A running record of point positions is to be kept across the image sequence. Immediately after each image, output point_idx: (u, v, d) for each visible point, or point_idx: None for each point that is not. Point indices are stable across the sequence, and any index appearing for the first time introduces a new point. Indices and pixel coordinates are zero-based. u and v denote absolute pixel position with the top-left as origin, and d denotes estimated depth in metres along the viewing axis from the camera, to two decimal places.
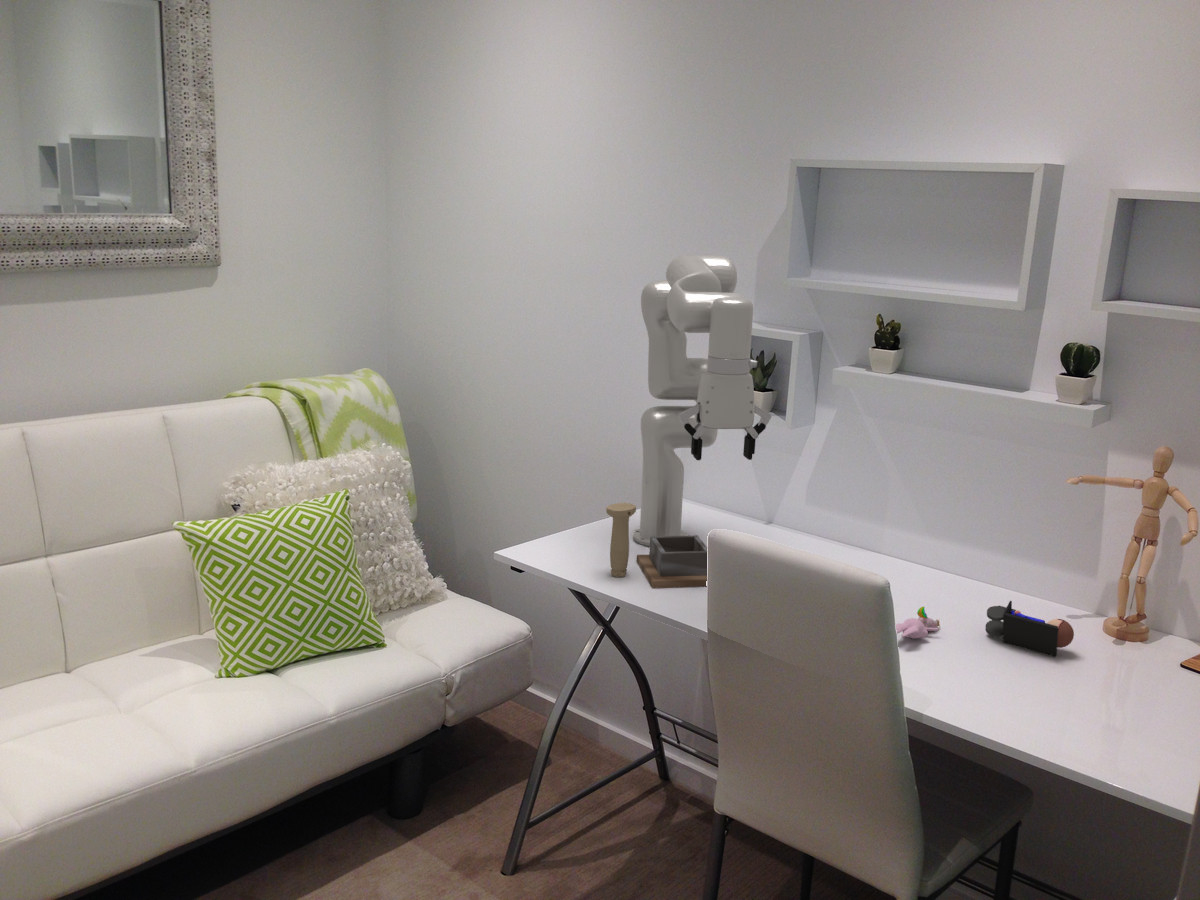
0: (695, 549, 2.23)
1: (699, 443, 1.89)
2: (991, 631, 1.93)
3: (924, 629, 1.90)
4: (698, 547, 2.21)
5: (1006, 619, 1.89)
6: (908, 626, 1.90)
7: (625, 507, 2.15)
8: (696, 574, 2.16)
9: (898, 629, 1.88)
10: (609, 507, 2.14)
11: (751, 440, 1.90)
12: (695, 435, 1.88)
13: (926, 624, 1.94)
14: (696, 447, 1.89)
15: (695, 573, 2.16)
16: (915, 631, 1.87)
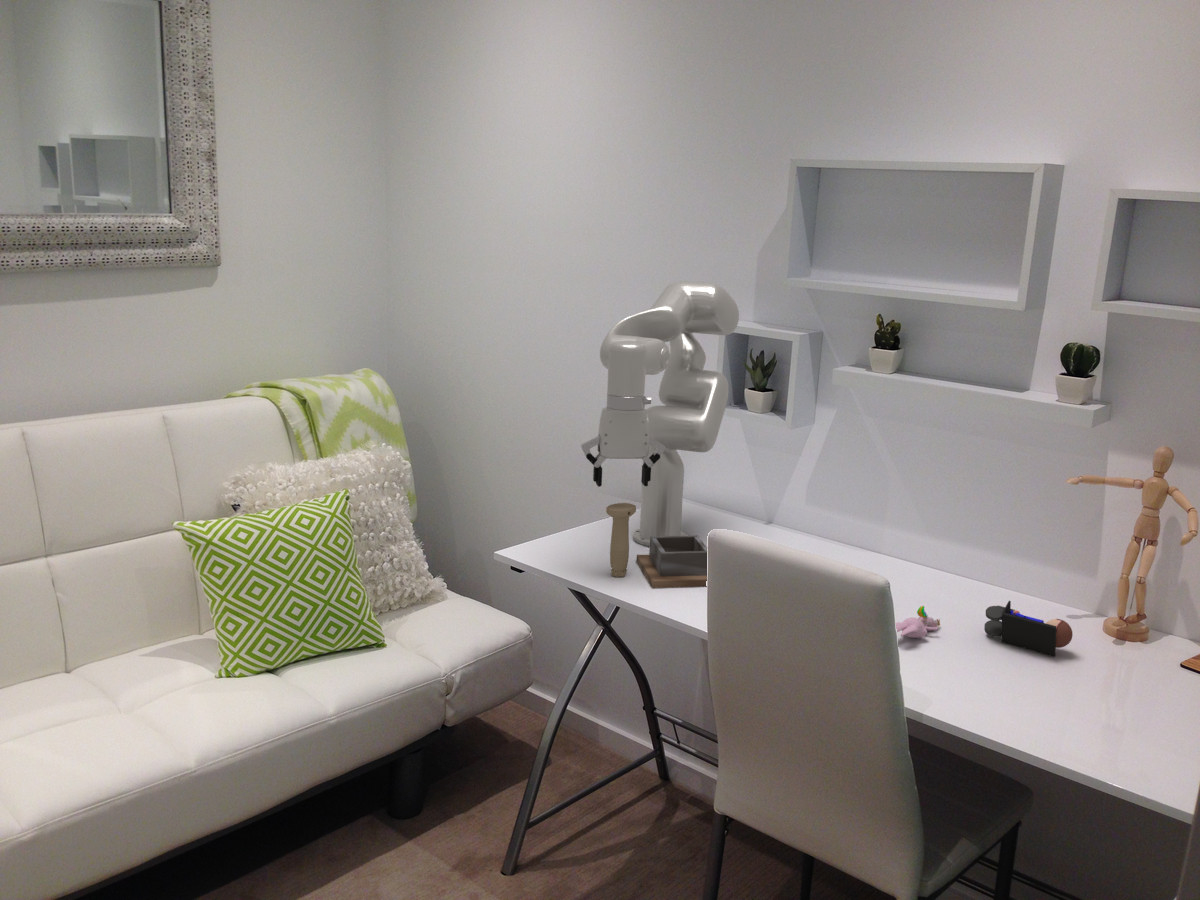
0: (695, 549, 2.23)
1: (599, 471, 2.11)
2: (990, 631, 1.93)
3: (923, 628, 1.90)
4: (698, 547, 2.21)
5: (1005, 619, 1.89)
6: (907, 625, 1.90)
7: (625, 507, 2.15)
8: (696, 574, 2.16)
9: (897, 628, 1.88)
10: (609, 507, 2.14)
11: (647, 469, 2.12)
12: (596, 464, 2.10)
13: (926, 623, 1.94)
14: (597, 475, 2.11)
15: (695, 573, 2.16)
16: (914, 630, 1.88)
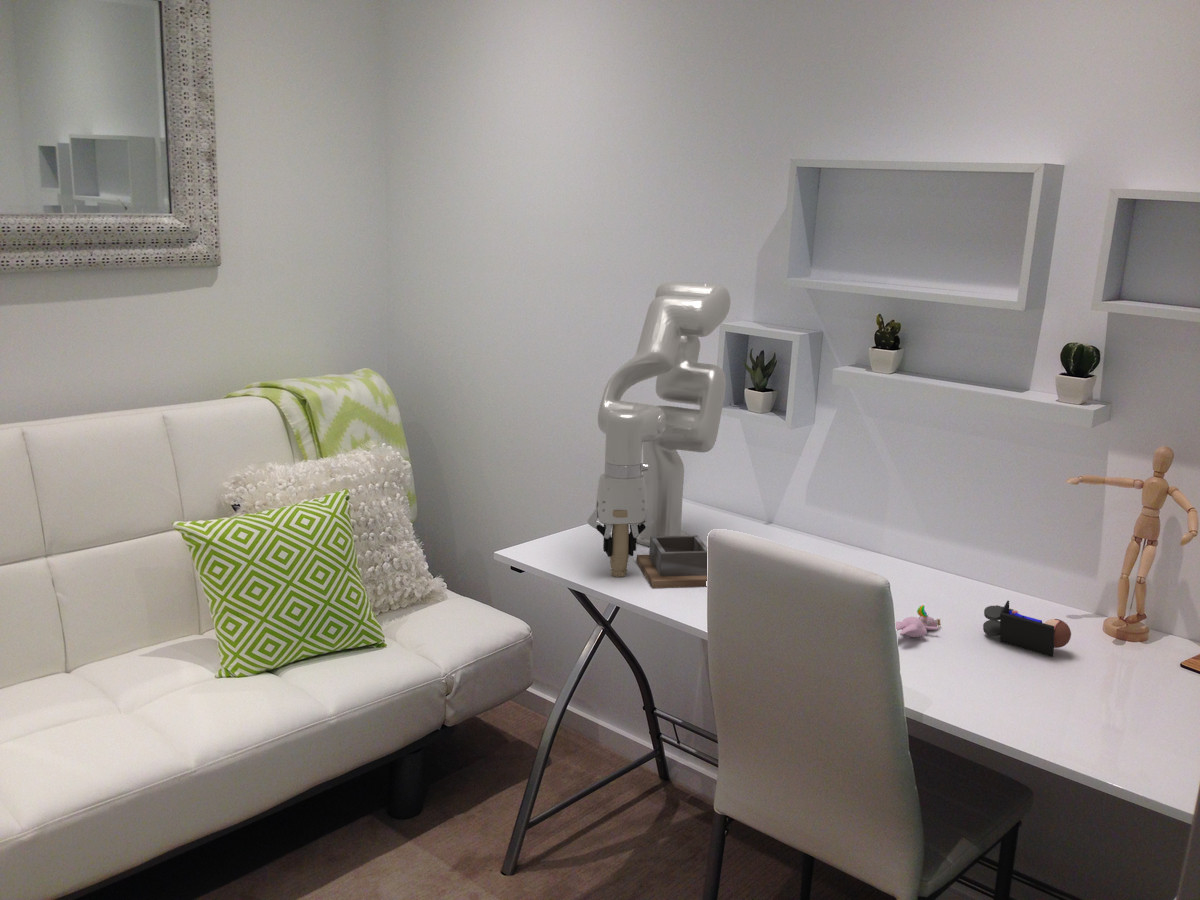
0: (695, 549, 2.23)
1: (609, 542, 2.15)
2: (988, 631, 1.93)
3: (923, 628, 1.91)
4: (698, 547, 2.21)
5: (1003, 619, 1.89)
6: (907, 624, 1.91)
7: None
8: (696, 574, 2.16)
9: (896, 627, 1.89)
10: None
11: (632, 539, 2.16)
12: (606, 535, 2.15)
13: (926, 623, 1.95)
14: (607, 545, 2.16)
15: (695, 573, 2.16)
16: (913, 629, 1.88)
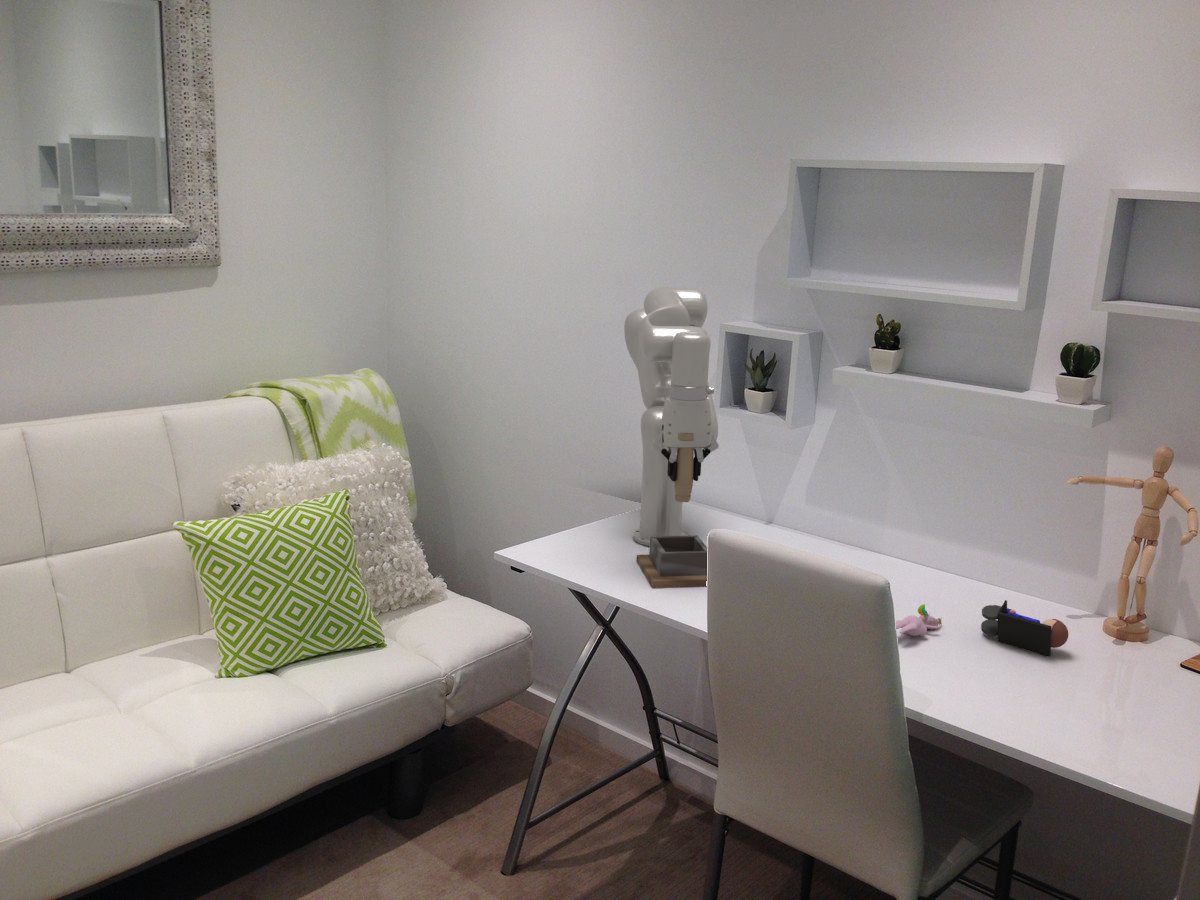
0: (695, 549, 2.23)
1: (674, 466, 2.13)
2: (986, 630, 1.93)
3: (923, 626, 1.91)
4: (698, 547, 2.21)
5: (1000, 618, 1.89)
6: (907, 623, 1.91)
7: None
8: (696, 574, 2.16)
9: (896, 626, 1.89)
10: None
11: (697, 464, 2.14)
12: (671, 459, 2.13)
13: (927, 622, 1.95)
14: (672, 470, 2.14)
15: (695, 573, 2.16)
16: (913, 628, 1.88)
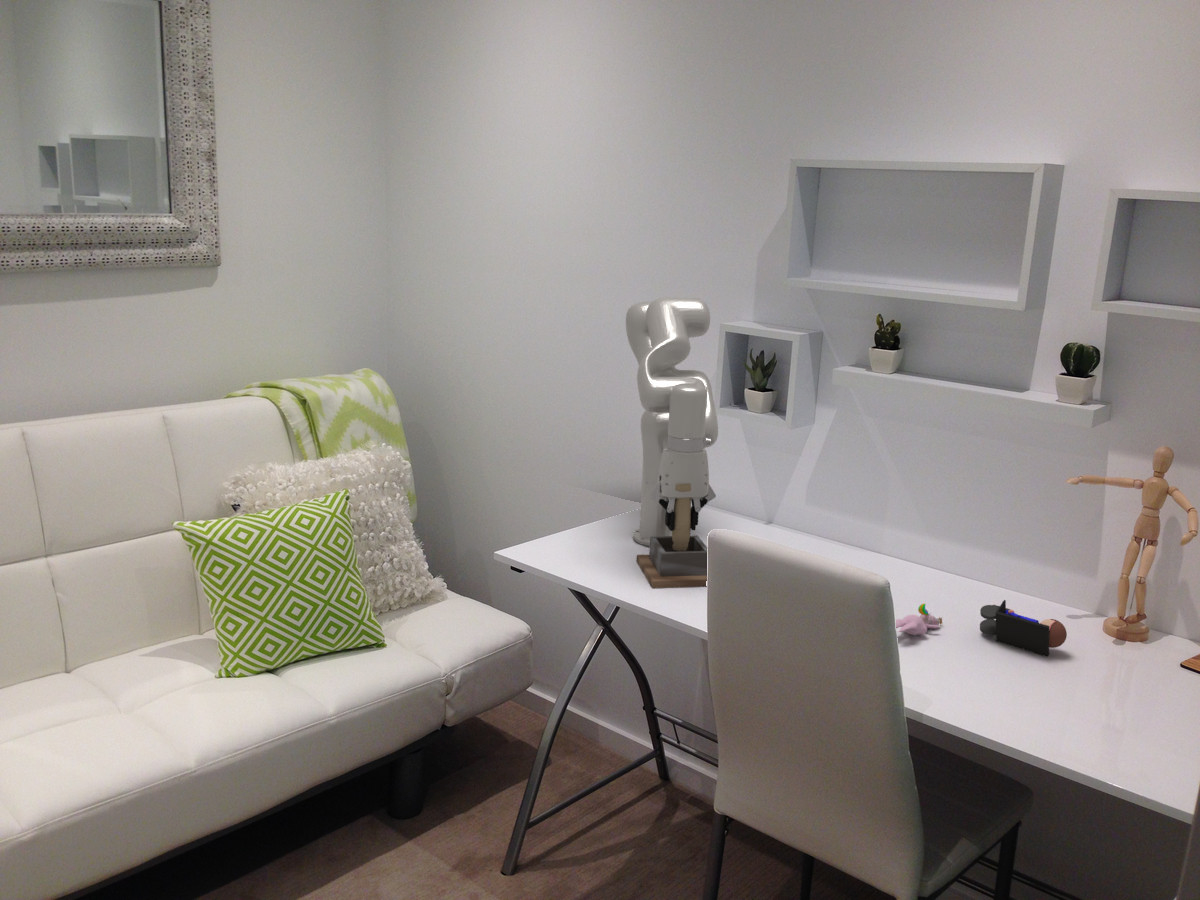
0: (695, 549, 2.23)
1: (672, 516, 2.16)
2: (985, 630, 1.93)
3: (923, 626, 1.92)
4: (698, 547, 2.21)
5: (998, 618, 1.89)
6: (907, 622, 1.92)
7: None
8: (696, 574, 2.16)
9: (896, 625, 1.90)
10: None
11: (694, 513, 2.17)
12: (668, 509, 2.16)
13: (927, 621, 1.95)
14: (669, 519, 2.17)
15: (695, 573, 2.16)
16: (912, 627, 1.89)
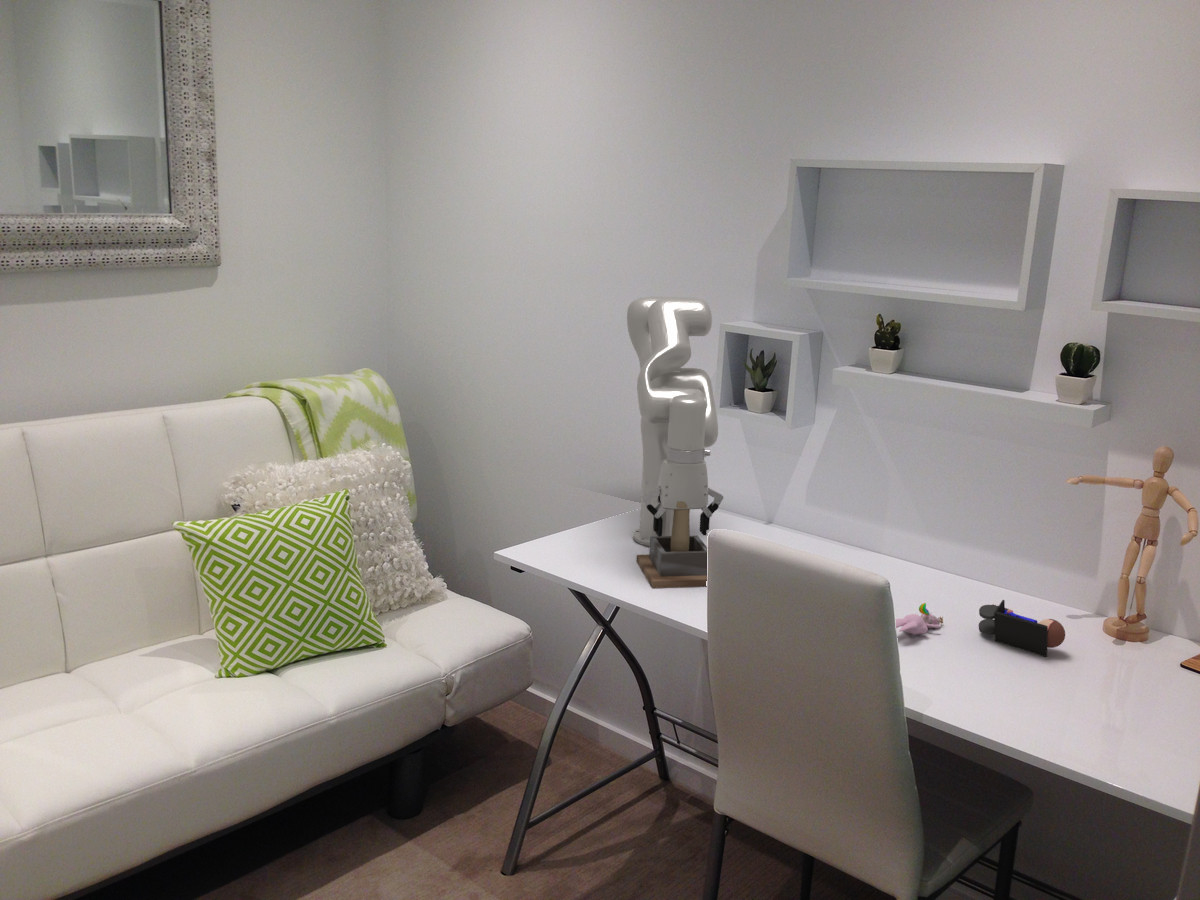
0: (695, 549, 2.23)
1: (660, 522, 2.16)
2: (984, 629, 1.93)
3: (924, 625, 1.92)
4: (698, 547, 2.21)
5: (997, 618, 1.89)
6: (907, 621, 1.92)
7: None
8: (696, 574, 2.16)
9: (896, 624, 1.90)
10: None
11: (705, 518, 2.17)
12: (656, 515, 2.16)
13: (928, 621, 1.96)
14: (657, 525, 2.17)
15: (695, 573, 2.16)
16: (913, 627, 1.89)
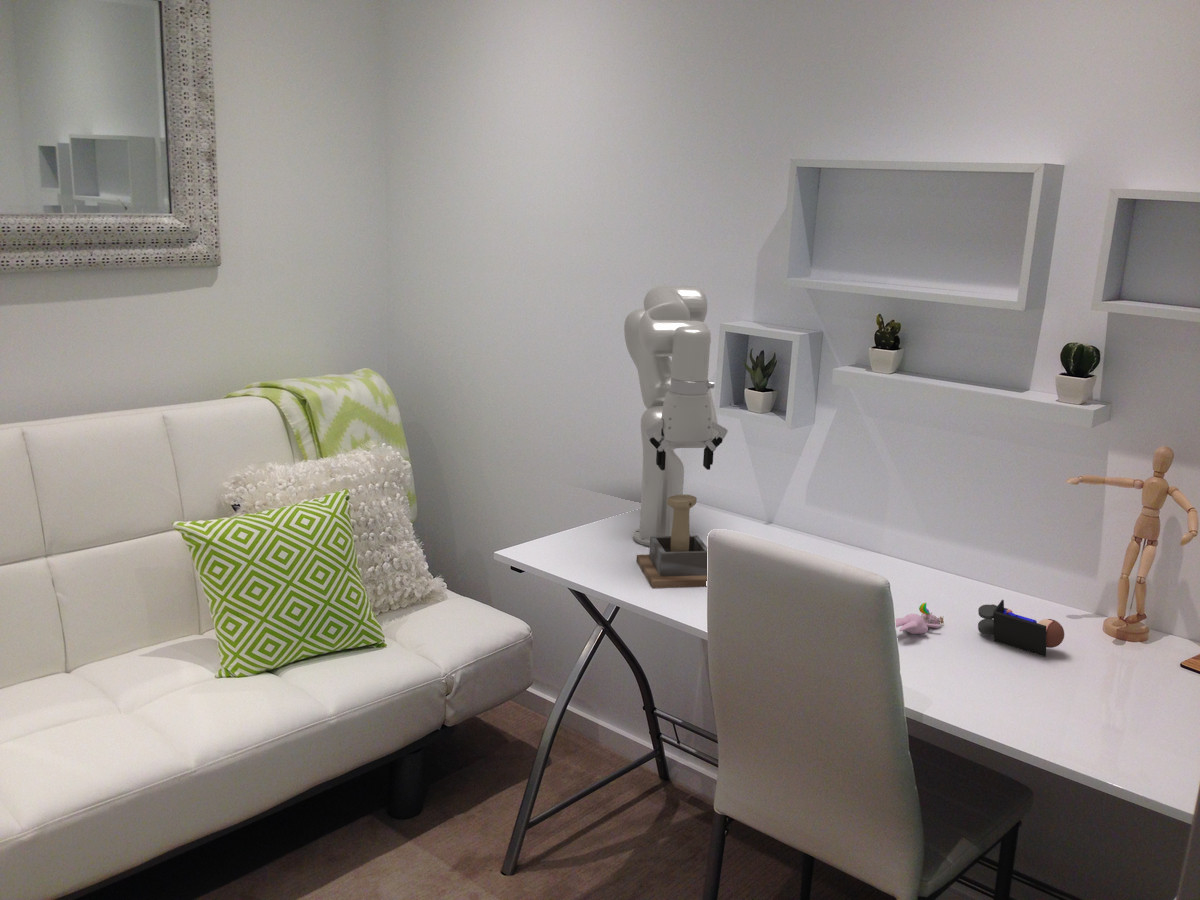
0: (695, 549, 2.23)
1: (663, 455, 2.13)
2: (983, 629, 1.93)
3: (924, 625, 1.92)
4: (698, 547, 2.21)
5: (996, 617, 1.89)
6: (907, 621, 1.92)
7: (686, 498, 2.17)
8: (696, 574, 2.16)
9: (896, 623, 1.90)
10: (670, 498, 2.17)
11: (709, 452, 2.14)
12: (659, 448, 2.12)
13: (928, 620, 1.96)
14: (660, 458, 2.13)
15: (695, 573, 2.16)
16: (913, 626, 1.89)
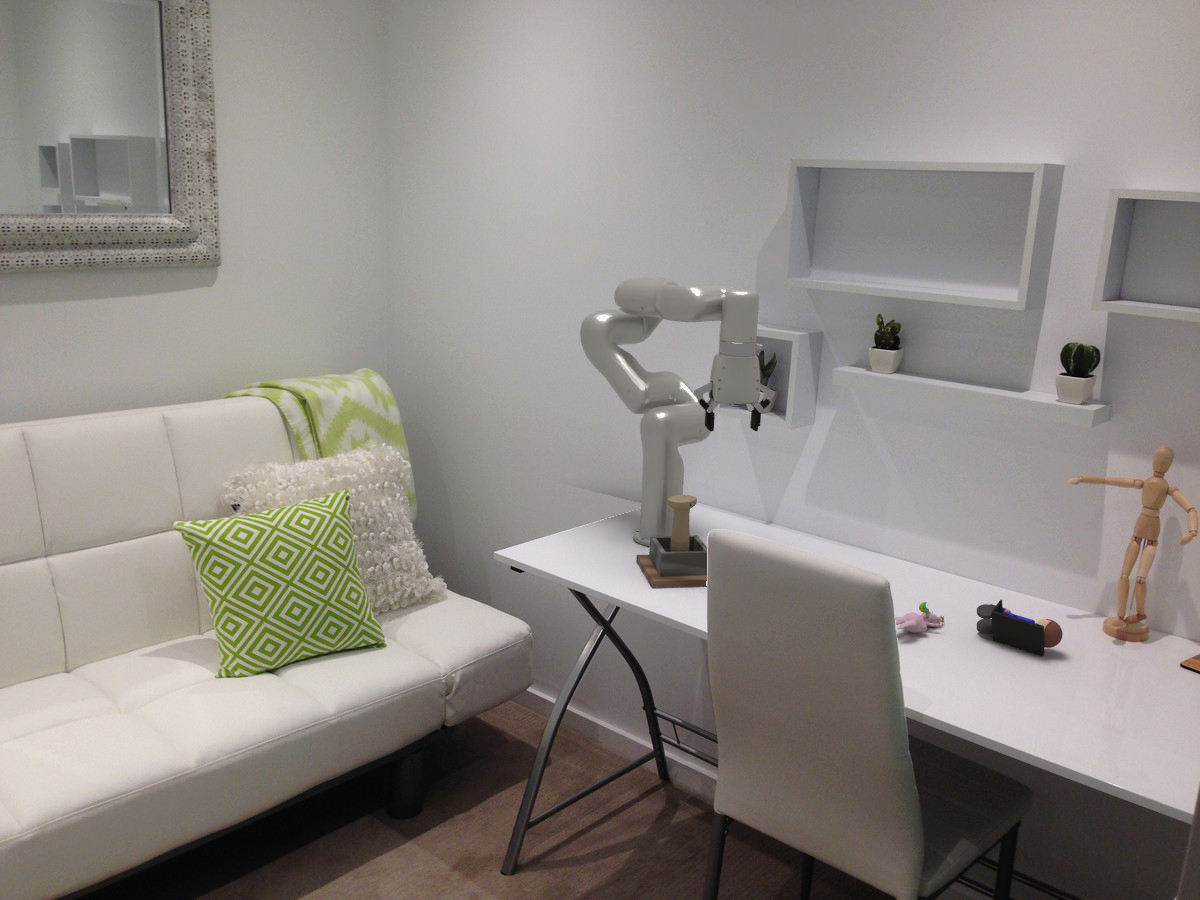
0: (695, 549, 2.23)
1: (712, 416, 2.16)
2: (981, 629, 1.93)
3: (923, 624, 1.93)
4: (698, 547, 2.21)
5: (994, 617, 1.89)
6: (906, 620, 1.93)
7: (686, 499, 2.17)
8: (696, 574, 2.16)
9: None
10: (670, 499, 2.16)
11: (757, 414, 2.18)
12: (708, 409, 2.16)
13: (928, 619, 1.96)
14: (709, 420, 2.17)
15: (695, 573, 2.16)
16: (911, 625, 1.90)
